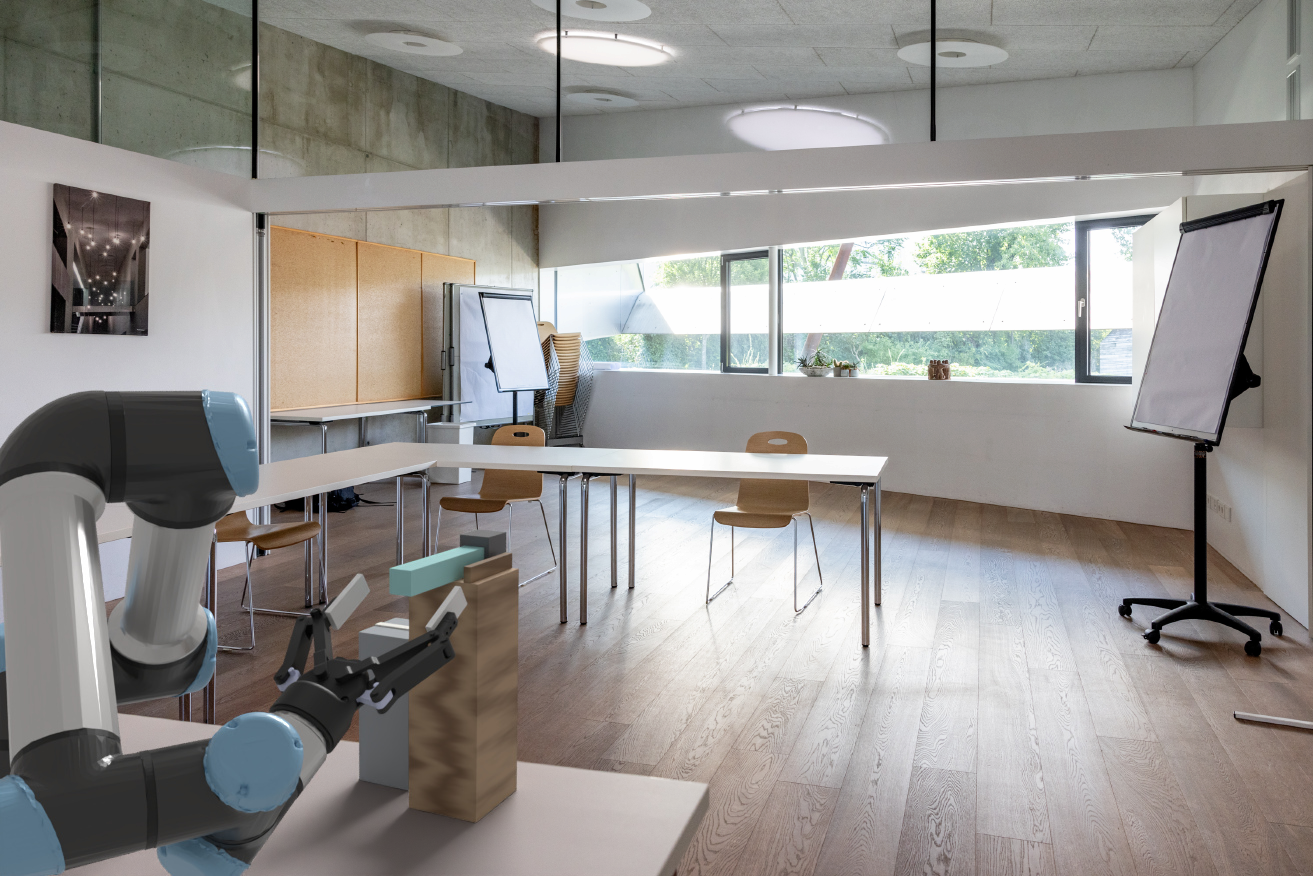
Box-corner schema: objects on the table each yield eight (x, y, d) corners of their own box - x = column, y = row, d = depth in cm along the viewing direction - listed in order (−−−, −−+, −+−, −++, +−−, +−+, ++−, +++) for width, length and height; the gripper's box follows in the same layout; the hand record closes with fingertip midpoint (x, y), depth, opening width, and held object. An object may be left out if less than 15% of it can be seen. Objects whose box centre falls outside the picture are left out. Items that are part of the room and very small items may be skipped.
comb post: (408, 807, 120) (409, 560, 117) (453, 776, 129) (454, 547, 127) (476, 822, 116) (477, 568, 114) (516, 789, 125) (518, 553, 123)
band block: (359, 779, 127) (358, 630, 126) (395, 757, 135) (395, 616, 133) (408, 790, 125) (408, 637, 123) (442, 767, 132) (443, 622, 130)
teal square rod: (384, 593, 109) (384, 555, 108) (477, 561, 127) (478, 529, 127) (416, 597, 107) (416, 559, 107) (506, 564, 126) (506, 532, 125)
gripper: (218, 738, 99) (336, 600, 116) (414, 781, 90) (513, 625, 106) (187, 689, 95) (314, 553, 111) (389, 729, 86) (495, 575, 102)
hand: (411, 588), depth 109 cm, fingers open, 13 cm apart
